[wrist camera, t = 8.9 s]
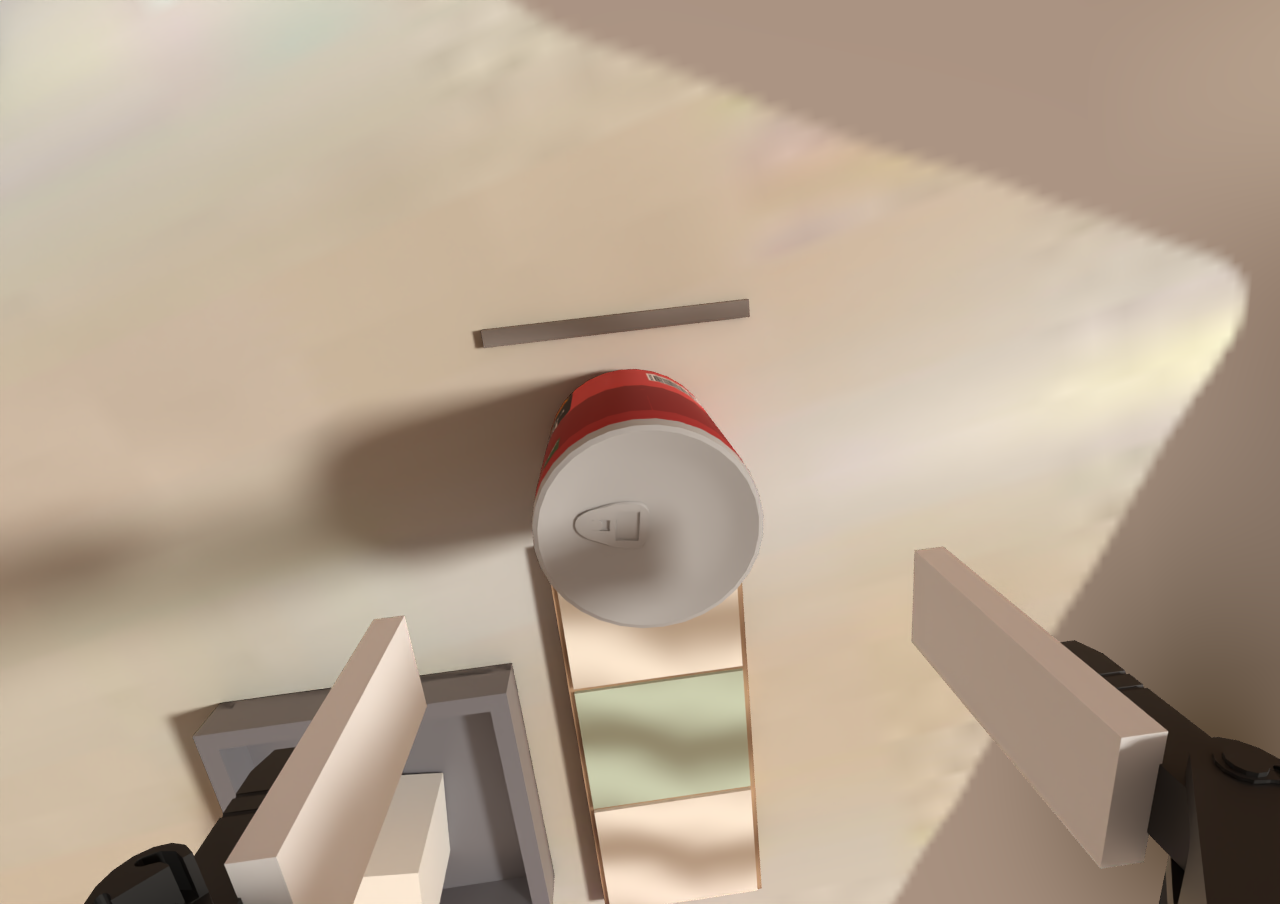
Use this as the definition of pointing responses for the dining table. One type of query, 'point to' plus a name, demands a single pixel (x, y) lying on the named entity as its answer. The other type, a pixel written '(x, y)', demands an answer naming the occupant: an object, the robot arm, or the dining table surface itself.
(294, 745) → the dice tray
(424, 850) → the cream cube
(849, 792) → the dining table surface
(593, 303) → the dining table surface
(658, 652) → the board
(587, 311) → the dining table surface
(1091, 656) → the robot arm
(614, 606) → the canned food
